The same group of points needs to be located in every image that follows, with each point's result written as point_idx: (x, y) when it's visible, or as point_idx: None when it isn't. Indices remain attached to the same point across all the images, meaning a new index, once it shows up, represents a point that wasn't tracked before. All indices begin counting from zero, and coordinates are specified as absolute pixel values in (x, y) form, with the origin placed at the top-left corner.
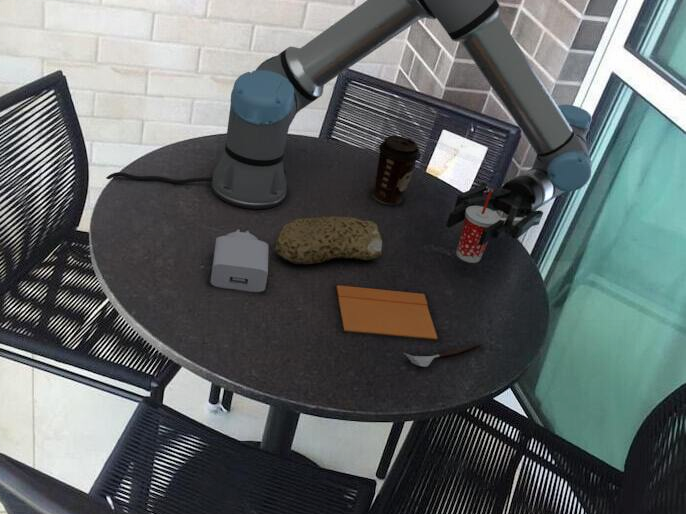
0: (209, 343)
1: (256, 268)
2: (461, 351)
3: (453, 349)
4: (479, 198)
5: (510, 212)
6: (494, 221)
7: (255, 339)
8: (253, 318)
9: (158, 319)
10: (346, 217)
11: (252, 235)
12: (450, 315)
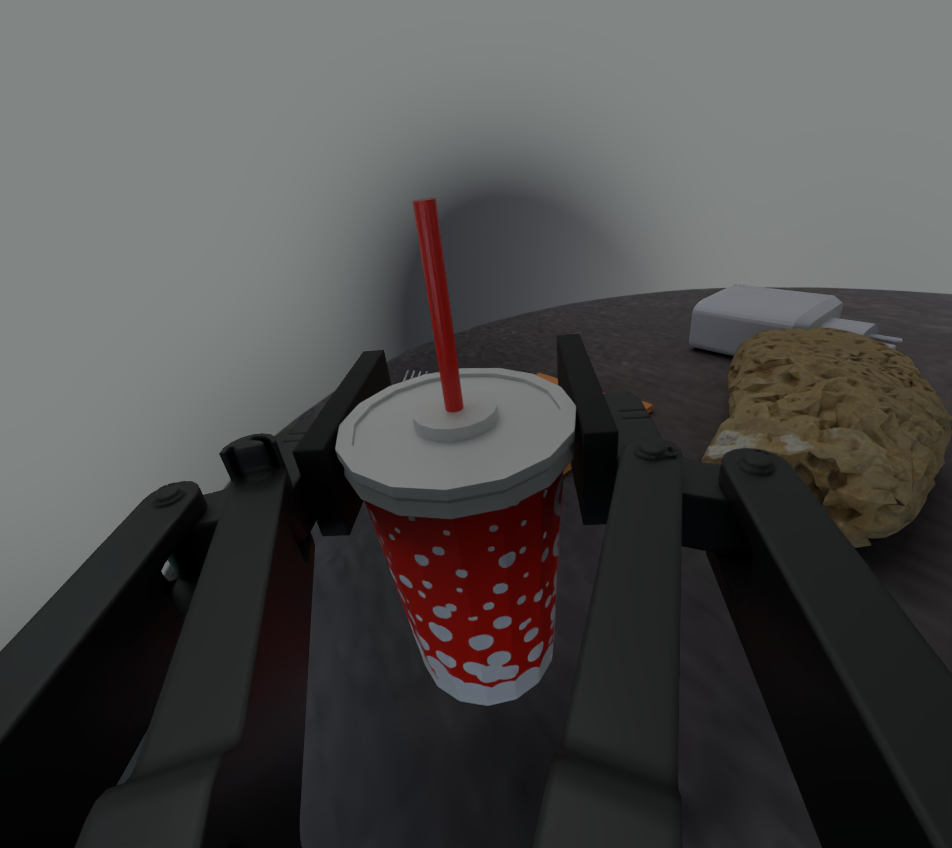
0: (615, 307)
1: (705, 298)
2: None
3: None
4: (651, 560)
5: (249, 614)
6: (357, 418)
7: (595, 325)
8: (635, 332)
9: (681, 296)
10: (903, 408)
11: None
12: None
